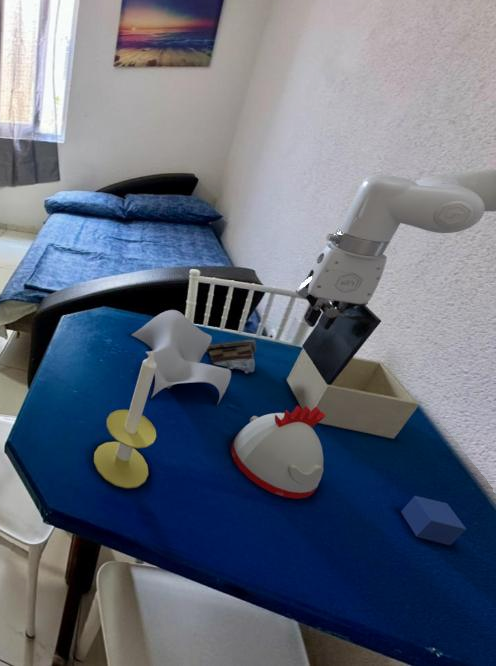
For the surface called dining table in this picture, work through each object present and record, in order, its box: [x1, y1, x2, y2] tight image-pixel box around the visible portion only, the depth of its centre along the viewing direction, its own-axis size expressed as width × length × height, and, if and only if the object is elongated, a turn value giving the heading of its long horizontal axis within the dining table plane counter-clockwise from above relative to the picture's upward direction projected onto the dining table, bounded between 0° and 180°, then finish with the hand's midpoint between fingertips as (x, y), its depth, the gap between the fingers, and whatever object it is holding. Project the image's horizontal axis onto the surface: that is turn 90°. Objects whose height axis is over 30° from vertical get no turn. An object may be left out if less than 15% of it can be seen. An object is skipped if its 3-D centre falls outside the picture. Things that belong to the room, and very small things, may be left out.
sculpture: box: [131, 309, 232, 406], centre depth 100 cm, size 25×19×10 cm
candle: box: [93, 350, 157, 489], centre depth 70 cm, size 10×10×27 cm
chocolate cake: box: [205, 338, 258, 374], centre depth 103 cm, size 10×7×12 cm
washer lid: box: [301, 299, 382, 385], centre depth 85 cm, size 16×14×7 cm
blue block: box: [400, 495, 467, 546], centre depth 67 cm, size 4×4×4 cm
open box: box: [286, 347, 420, 440], centre depth 89 cm, size 16×14×10 cm
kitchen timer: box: [230, 405, 326, 500], centre depth 74 cm, size 14×14×15 cm
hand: (316, 324), depth 85 cm, fingers closed on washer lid, 2 cm apart
